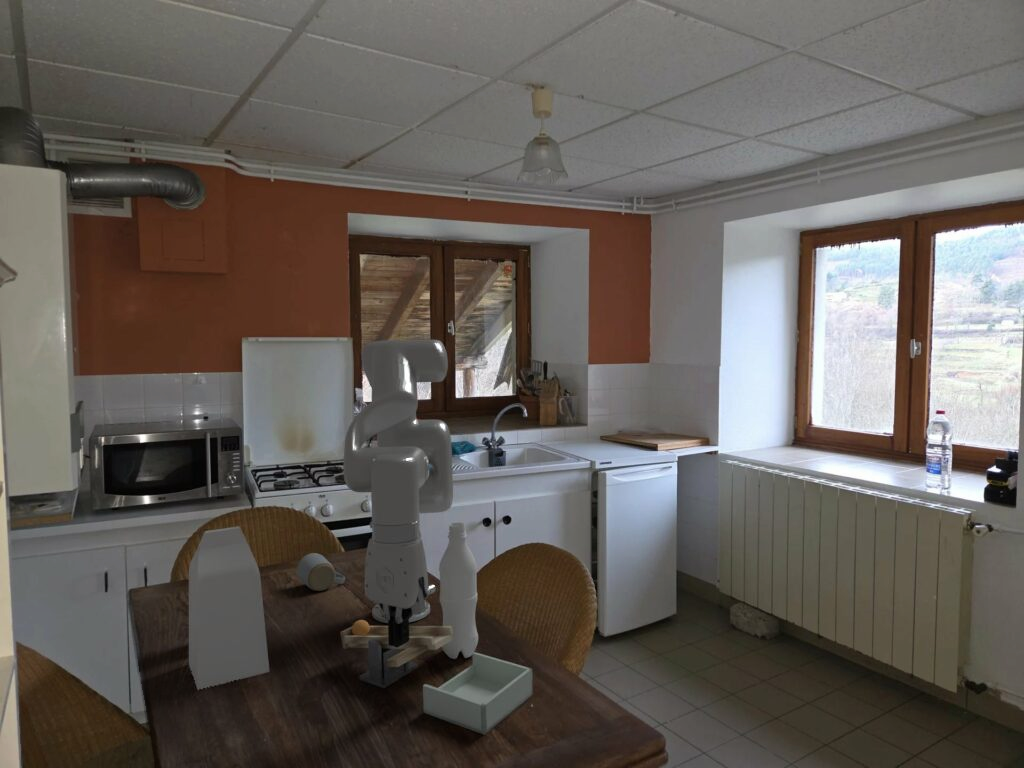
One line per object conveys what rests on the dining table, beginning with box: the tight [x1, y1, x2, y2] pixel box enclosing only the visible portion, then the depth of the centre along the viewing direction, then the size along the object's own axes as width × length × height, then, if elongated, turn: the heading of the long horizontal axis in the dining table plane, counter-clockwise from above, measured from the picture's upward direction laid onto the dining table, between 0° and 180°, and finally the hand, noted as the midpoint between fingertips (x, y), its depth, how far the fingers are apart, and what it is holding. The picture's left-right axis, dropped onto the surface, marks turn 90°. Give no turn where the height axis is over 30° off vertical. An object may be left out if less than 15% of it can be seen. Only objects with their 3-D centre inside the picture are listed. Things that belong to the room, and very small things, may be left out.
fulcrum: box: [358, 639, 419, 689], centre depth 125 cm, size 6×9×7 cm, turn 147°
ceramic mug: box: [296, 552, 346, 592], centre depth 171 cm, size 11×8×8 cm
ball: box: [351, 619, 370, 636], centre depth 129 cm, size 3×3×3 cm
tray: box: [422, 651, 534, 736], centre depth 114 cm, size 14×12×4 cm
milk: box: [188, 525, 270, 691], centre depth 128 cm, size 12×12×26 cm
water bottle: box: [438, 522, 479, 660], centre depth 132 cm, size 7×7×25 cm
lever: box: [340, 625, 453, 667], centre depth 121 cm, size 22×12×3 cm, turn 57°
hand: (399, 643), depth 112 cm, fingers closed
